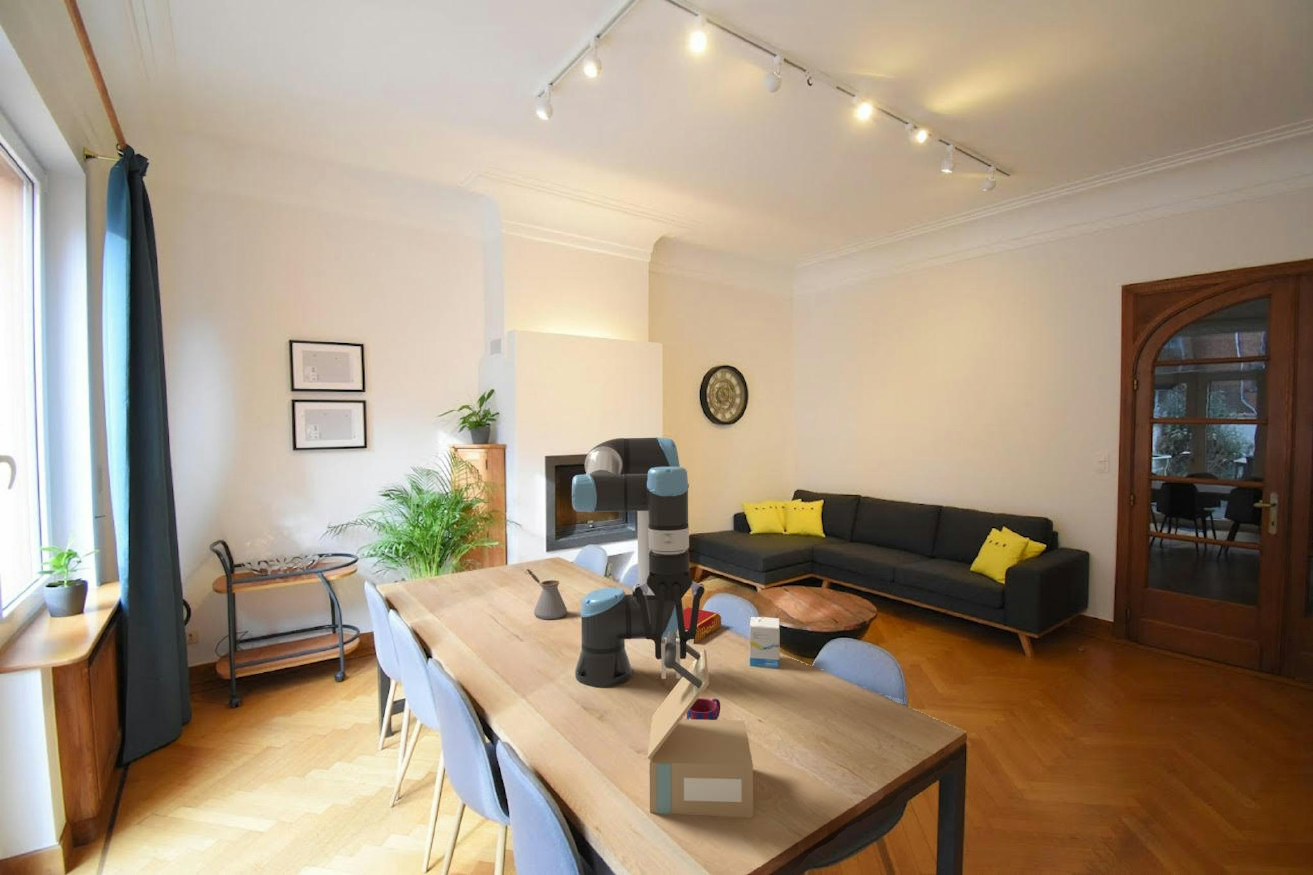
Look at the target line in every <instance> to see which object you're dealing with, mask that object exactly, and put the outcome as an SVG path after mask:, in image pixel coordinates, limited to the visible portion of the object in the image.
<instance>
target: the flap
mask: <svg viewBox="0 0 1313 875" xmlns="http://www.w3.org/2000/svg"><path fill="white" fill-rule="evenodd" d="M676 638H678V637H677V634H676V632H674V631H669V632H668V633H667V638H666V649H665V660H664V665H665V667H666V669H668V670H671V669H672V670H674V671H675V672H678V673H679V674H680V675H681V679H679V681H678V682H677V683H676V685H675V686H674V687H673V689H672V690H671V691H670V693H669V694H668V695H667V696H666V698H665V699H664V701H663V702H662V703H661V704H660V705H659V707H658V708H657V710H656V711H655V712H654V714H653V715H651V725H650V734H649V740H648V748H647V749H648V750H647V751H648V752H647V759H648V760H649V761H650V760H651V758H652V757H653V756H654V754H655V753H656V752H657V751H658V749H659V748H660V747H661V745H662V744H663V743H664V742H665V740H666V739H667V738H668V736H669V735H670V734H671V732H672V731H673V730H674V729H675V727H676V726H677V725H678V723H679V722H680V721H681V720H682V719H684V717H685V716H686V715H687V712H688V710H689V709H690V708H691V707H692V705H693V704H694V703H695V701H696V700H697V699H698V698H700V697H701V695H702V694H703V693H704V691H705V690H706V689H707V687H708V686H709V685H710V679H709V668H708V657H707V656H708V654H707V650H705V649H702V650H701V651H700V652H698V651H697V650H695V649H694V648H693V647H691V646H690V645H689V644H687V643H686V654H689V655H690V656H691V657H692V658H693V659H694V660H693V662H692V664H691V665H690V667H688V669H686V668H685V667H684V666H682V665H681V663H680V664H678V663H677V662H676Z"/></svg>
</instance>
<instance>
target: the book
mask: <svg viewBox="0 0 1313 875" xmlns="http://www.w3.org/2000/svg"><path fill="white" fill-rule="evenodd" d="M691 611H692V607H687V608H685V609H684V608H683V615H684V623H685V631H688V630H689V628H690V619H691ZM721 626H722V616H721V615H720V613H719V612H713V611H708V610H704V609H699V614H698V622H697V630H696V637H695V639H690V640H688V641H687V642H686V643H690V644H697V643H698V642H700V641H701V640H702V639H704V638H705V637H707V636H708V635H710V634H711V633H713V632H714V631H716V630H718V629H720V627H721ZM676 634H677V637H678V638H679V631H677V633H676Z"/></svg>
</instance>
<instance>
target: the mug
mask: <svg viewBox="0 0 1313 875" xmlns="http://www.w3.org/2000/svg"><path fill="white" fill-rule="evenodd" d="M720 712H721V702H720V700H719V698H713V699H709V698H702V697H701V698H700V697H699V698H698V699H697V700H696V701H695V703H694V704H693V705H692V707H691V708H690V709H689V710H688V712H687V713H686V719H695V720H719V719H718V718H719V717H720V715H721V714H720Z"/></svg>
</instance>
